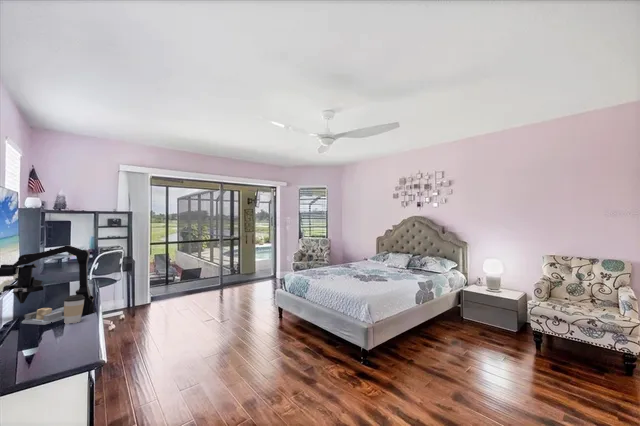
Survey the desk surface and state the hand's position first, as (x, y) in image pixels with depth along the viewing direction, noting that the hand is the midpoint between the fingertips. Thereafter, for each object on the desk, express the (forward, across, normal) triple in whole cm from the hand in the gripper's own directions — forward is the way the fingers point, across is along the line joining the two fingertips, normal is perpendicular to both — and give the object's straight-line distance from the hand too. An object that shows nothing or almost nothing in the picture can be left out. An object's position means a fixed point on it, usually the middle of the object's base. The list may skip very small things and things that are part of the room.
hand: (22, 303), depth 159 cm
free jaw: (+8, -8, 0) cm, 11 cm away
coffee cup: (+10, -31, 0) cm, 33 cm away
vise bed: (+9, -14, 0) cm, 17 cm away
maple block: (+8, -14, 0) cm, 16 cm away
